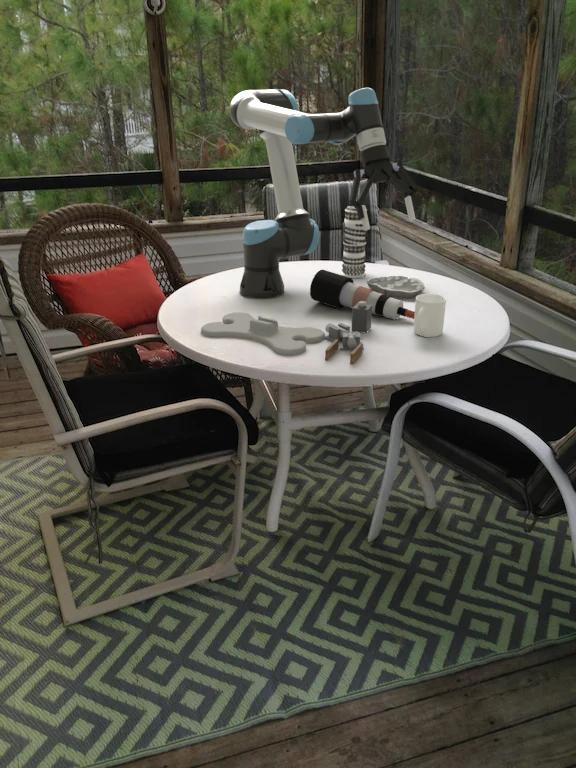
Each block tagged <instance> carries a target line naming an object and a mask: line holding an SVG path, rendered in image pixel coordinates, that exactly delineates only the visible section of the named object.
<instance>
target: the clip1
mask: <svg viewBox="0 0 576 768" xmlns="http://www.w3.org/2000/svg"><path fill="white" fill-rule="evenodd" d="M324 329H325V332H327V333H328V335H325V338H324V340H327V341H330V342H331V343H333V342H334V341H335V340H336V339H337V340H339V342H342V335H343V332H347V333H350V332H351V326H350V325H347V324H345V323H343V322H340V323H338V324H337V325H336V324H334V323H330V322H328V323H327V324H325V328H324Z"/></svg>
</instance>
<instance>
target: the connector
mask: <svg viewBox="0 0 576 768" xmlns="http://www.w3.org/2000/svg"><path fill="white" fill-rule="evenodd" d="M351 309H352V310H351V312H352V313H351V332H355V331H358V332H359V333H362V332H365V333H364V334H367V333H368V332H369V331H370V330H371V329H372V318H373V317H372V314H373V313H372V305H367V302H365V301H360V302H358V303H357V304H356V305H355V306H354V307H353V308H351ZM370 328H371V329H370ZM369 329H370V330H369ZM368 330H369V331H368ZM367 331H368V332H367Z"/></svg>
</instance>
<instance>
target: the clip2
mask: <svg viewBox="0 0 576 768" xmlns="http://www.w3.org/2000/svg"><path fill="white" fill-rule="evenodd" d="M360 343H363V341H361V332H355V331H354V332H353V331H350V333H347V332H343V335H342V342H339V348H338V350H339V351H353V350H354V349H355V348H356V347H357V346H358V345H359V344H360ZM363 351H364V347H363Z"/></svg>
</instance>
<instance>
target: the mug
mask: <svg viewBox="0 0 576 768" xmlns="http://www.w3.org/2000/svg"><path fill="white" fill-rule="evenodd" d="M446 302H447V298H446V297H445V296H443V295H440V294H437V293H422V294H421V293H420V294H419V295H416V296H415V306H414V312H415V316H414V319H413V332H414V334H416V335H417V334H418V335H417V336H419V335H420V336H421V337H423V336H424V337H426V338H436V337H439V336H441V335H442V334H443V331H444V323H445V313H446ZM420 336H419V337H420Z"/></svg>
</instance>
